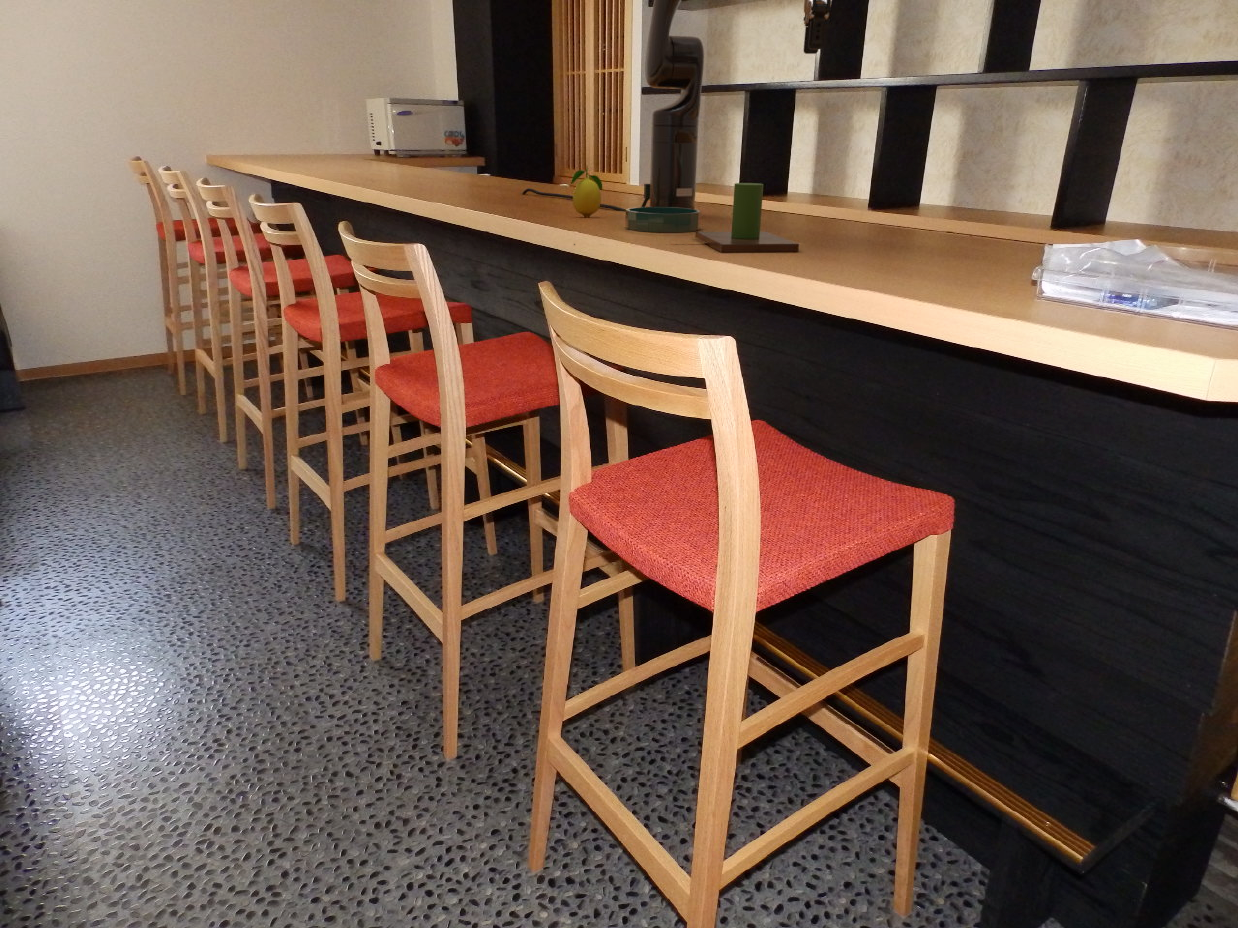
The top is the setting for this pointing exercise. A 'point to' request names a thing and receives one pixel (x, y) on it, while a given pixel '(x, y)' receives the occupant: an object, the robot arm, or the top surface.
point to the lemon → (587, 193)
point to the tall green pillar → (747, 210)
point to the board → (747, 242)
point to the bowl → (663, 219)
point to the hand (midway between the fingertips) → (813, 51)
